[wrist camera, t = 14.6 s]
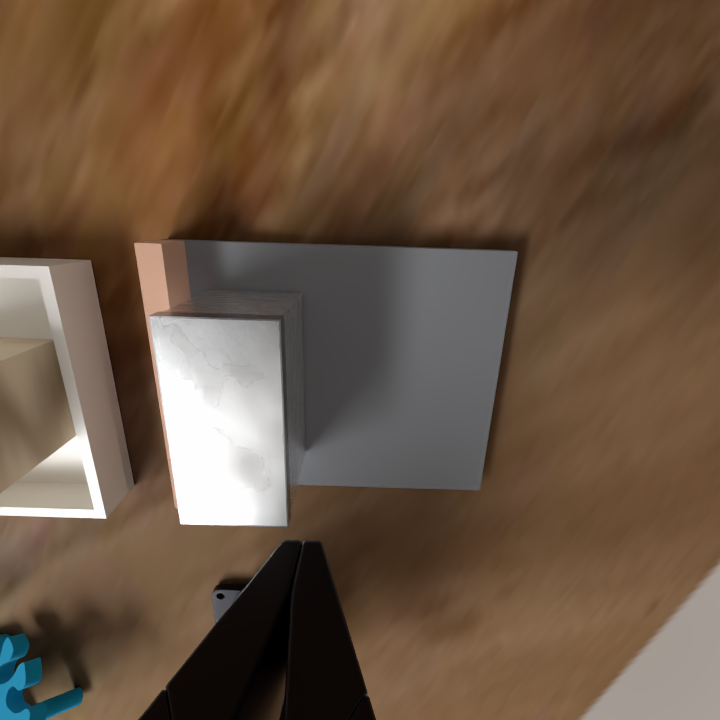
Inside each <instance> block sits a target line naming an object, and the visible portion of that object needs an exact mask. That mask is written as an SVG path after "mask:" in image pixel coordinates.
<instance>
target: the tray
mask: <svg viewBox="0 0 720 720" xmlns="http://www.w3.org/2000/svg"><path fill="white" fill-rule="evenodd" d="M0 337H3V338H30V339H53V340H54V345H55V349H56V353H57V357H58V361H59V365H60V370H61V374H62V378H63V382H64V386H65V390H66V395H67V399H68V403H69V407H70V411H71V415H72V420H73V424H74V428H75V432H76V436H75V437H74V438H73V439H71V440H70V441H69V442H67V443H66V444H65V445H63V446H62V447H61V448H59V449H58V450H57V451H55V452H54V453H53V454H52V455H50V456H49V457H48V458H46V459H45V460H44V461H42V462H41V463H40V464H38V465H37V466H36V467H34V468H33V469H32V470H30V471H29V472H28V473H26V474H25V475H24V476H22V477H21V478H20V479H19V480H17V481H16V482H15V483H13V484H12V485H11V486H9V487H8V488H7V489H5V490H4V491H3V492H1V493H0V515H9V516H42V517H75V518H107V517H108V516H109V515H110V514H111V513H112V511H113V510H114V509H115V508H116V507H117V506H118V504H119V503H120V502H121V501H122V500H123V499H124V497H125V496H126V495H127V494H128V493H129V492H130V490H131V489H132V488H133V487H134V481H133V475H132V470H131V465H130V460H129V455H128V450H127V444H126V439H125V434H124V429H123V424H122V419H121V413H120V408H119V403H118V398H117V393H116V388H115V382H114V377H113V372H112V367H111V362H110V357H109V351H108V346H107V341H106V336H105V331H104V326H103V320H102V315H101V310H100V305H99V300H98V295H97V289H96V284H95V279H94V274H93V269H92V263H91V260H77V259H46V258H14V257H0Z"/></svg>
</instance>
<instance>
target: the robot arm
mask: <svg viewBox="0 0 720 720" xmlns="http://www.w3.org/2000/svg"><path fill="white" fill-rule="evenodd" d="M212 600H213V608H214V615H215V623H216V624H215V626H214V627H213V628H212V629H211V631H210V632H209V633H208V634H207V635H206V637H205V638H204V639H203V640H202V642H201V643H200V644H199V645H198V647H197V648H196V649H195V650H194V652H193V653H192V654H191V655H190V657H189V658H188V659H187V660H186V662H185V663H184V664H183V665H182V667H181V668H180V669H179V670H178V671H177V673H176V674H175V675H174V676H173V678H172V679H171V680H170V681H169V683H168V684H167V685H166V690H162V691H161V692H160V693H159V695H158V696H157V697H156V698H155V700H154V701H153V702H152V703H151V705H150V706H149V707H148V708H147V710H146V711H145V712H144V713H143V715H142V716H141V717H140V718H139V719H138V720H376V718H375V715H374V711H373V708H372V705H371V702H370V698H369V697H368V696H367V689H366V686H365V683H364V679H363V676H362V673H361V669H360V666H359V663H358V660H357V656H356V653H355V650H354V646H353V643H352V640H351V637H350V633H349V630H348V627H347V623H346V620H345V617H344V613H343V610H342V607H341V604H340V600H339V597H338V594H337V590H336V587H335V584H334V581H333V577H332V574H331V571H330V567H329V564H328V561H327V557H326V554H325V551H324V548H323V544H322V543H321V542H320V541H304V542H303V543H302V542H301V541H299V540H284V541H283V542H282V543H281V544H280V545H279V546H278V547H277V549H276V550H275V551H274V552H273V554H272V555H271V556H270V557H269V559H268V560H267V561H266V562H265V564H264V565H263V566H262V567H261V569H260V570H259V571H258V572H257V573H256V575H255V576H254V577H253V578H252V580H251V581H250V582H249V583H248V585H233V584H219V585H217V586H216V587H215V588H214V591H213V593H212Z"/></svg>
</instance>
